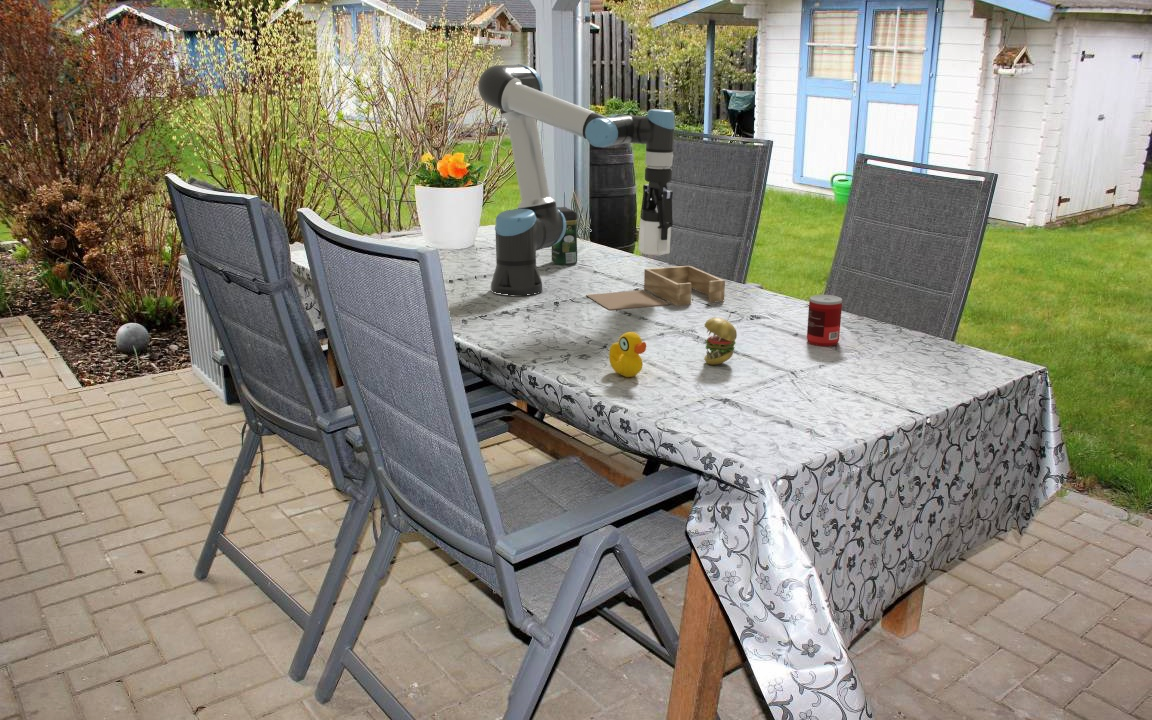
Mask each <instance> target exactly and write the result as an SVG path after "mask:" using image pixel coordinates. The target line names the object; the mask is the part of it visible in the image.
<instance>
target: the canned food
mask: <svg viewBox="0 0 1152 720" xmlns="http://www.w3.org/2000/svg"><path fill="white" fill-rule="evenodd" d="M842 309H843V298H842V297H840V296H837V295H834V294H833V295H832V294H831V295H830V294H815V295H811V296H810V297H809V302H808V313H807V329H806V341H807V342H808V343H809V345H812V346H816V347H832V346H833V345H834V346H835V345H837V344H838V343H839V341H840V332H841V323H842Z"/></svg>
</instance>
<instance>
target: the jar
mask: <svg viewBox="0 0 1152 720" xmlns="http://www.w3.org/2000/svg"><path fill="white" fill-rule="evenodd" d="M658 226H660V225H659V217H658V210H657V207H656V209H647V208H646V209H643V210H642V217H640V219H639V236H638V252H639V253H641V254H643V255H647V256H649V255H650V256H662V255H668V254H670V251H671V235H672V227H669V228H668V236H667V251H657V238H658Z"/></svg>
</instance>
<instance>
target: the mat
mask: <svg viewBox="0 0 1152 720" xmlns="http://www.w3.org/2000/svg"><path fill="white" fill-rule="evenodd" d="M587 296H588V297H587ZM585 297H587V298H589V299H590V298H591V299H590V300H592V299H593V300H594V302H595V301H596V302H595V303H597V304H598V305H600V306H601V307H603V308H605V309H606V310H608V311H615V310H628V309H638V308H649V307H651V308H652V307H659V306H660V307H661V306H669V305H670V303H669V302H668V301H666V300H664V299H662V298H660V297H658V296H656V295H655V296H654V294H652V293H650V292H649V291H647V290H645V289H642V290H629V291H617V292H605V293H604V292H603V293H595V294H594V293H592V294H586V295H585ZM593 300H592V301H593Z"/></svg>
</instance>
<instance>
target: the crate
mask: <svg viewBox="0 0 1152 720" xmlns="http://www.w3.org/2000/svg"><path fill="white" fill-rule="evenodd" d="M643 283H644V285H643V286H644V287H643V290H644V291H646V292H648V293H650V294H652V295H655V296H656V297H658V298H660V299H662V300H663V301H665V302H667V303H669V304H672V305H674V306H676V307H678V306H686V305H688V306H689V305H692V289H693V288H694V290H695V289H696V290H695V291H697V290H698V291H697V292H700V293H702V294H704V293H705V294H704V295H706V294H707V295H706V296H708V295H709V296H708V300H707V301H709V302H708V303H710V302H711V303H716V302H715V301H722V302H724V301H725V293H726V292H725V290H726V288H725V287H726V280H725V279H724V278H723V279H722V278H721V277H717V276H715V275H714V274H710V273H709V272H706V271H704V270H702V269H699V268H697V267H695V266H692V265H683V266H669V267H667V266H666V267H655V268H645V269H644V281H643ZM723 300H724V301H723Z"/></svg>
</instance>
